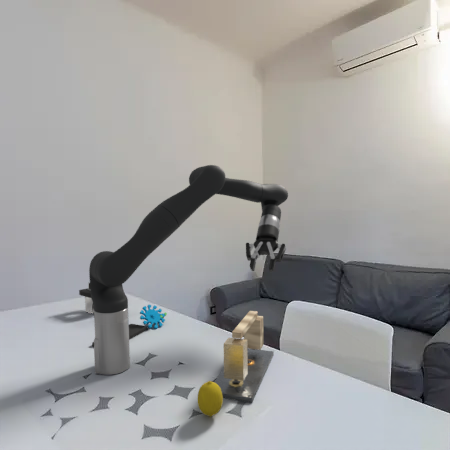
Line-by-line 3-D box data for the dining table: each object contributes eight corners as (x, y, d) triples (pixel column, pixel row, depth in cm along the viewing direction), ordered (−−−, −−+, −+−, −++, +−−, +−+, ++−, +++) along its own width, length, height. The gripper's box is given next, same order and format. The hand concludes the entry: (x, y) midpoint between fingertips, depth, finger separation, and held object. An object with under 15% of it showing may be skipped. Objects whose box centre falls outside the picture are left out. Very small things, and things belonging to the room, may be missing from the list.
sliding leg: (247, 345, 113) (247, 308, 112) (263, 347, 112) (263, 309, 111) (227, 375, 94) (227, 331, 93) (246, 378, 93) (246, 333, 92)
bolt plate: (238, 351, 115) (238, 313, 114) (273, 355, 111) (273, 316, 110) (208, 395, 89) (207, 347, 88) (252, 402, 86) (251, 353, 85)
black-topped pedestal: (54, 313, 157) (53, 282, 156) (112, 301, 174) (111, 273, 173) (80, 330, 136) (78, 295, 135) (142, 314, 154) (141, 283, 153)
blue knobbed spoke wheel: (144, 328, 132) (138, 304, 137) (138, 336, 135) (132, 312, 140) (171, 325, 138) (164, 302, 144) (165, 333, 142) (157, 310, 147)
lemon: (197, 409, 83) (197, 375, 83) (222, 408, 84) (221, 374, 83) (198, 424, 78) (197, 388, 77) (224, 423, 78) (223, 387, 78)
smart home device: (90, 342, 120) (130, 323, 138) (91, 347, 120) (130, 327, 138) (110, 346, 117) (148, 326, 135) (110, 351, 117) (148, 330, 135)
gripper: (246, 223, 129) (237, 262, 119) (287, 223, 125) (282, 264, 114) (250, 236, 135) (242, 275, 124) (289, 237, 130) (284, 277, 120)
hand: (261, 270), depth 119 cm, fingers open, 5 cm apart
